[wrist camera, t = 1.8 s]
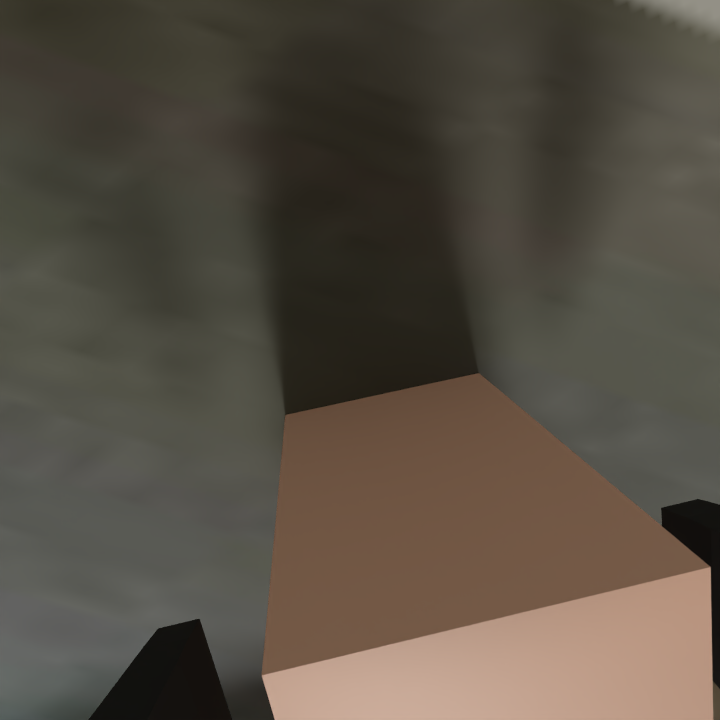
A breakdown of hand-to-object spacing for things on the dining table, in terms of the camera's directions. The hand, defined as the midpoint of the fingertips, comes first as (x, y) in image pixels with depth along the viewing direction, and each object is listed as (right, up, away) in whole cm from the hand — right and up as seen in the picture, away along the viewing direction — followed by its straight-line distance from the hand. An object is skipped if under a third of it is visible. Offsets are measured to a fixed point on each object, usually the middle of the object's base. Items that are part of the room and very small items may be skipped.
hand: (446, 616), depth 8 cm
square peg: (0, +1, +4) cm, 4 cm away
